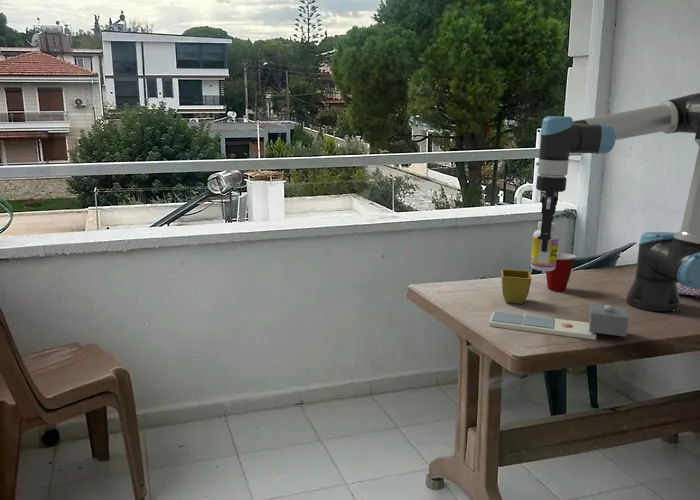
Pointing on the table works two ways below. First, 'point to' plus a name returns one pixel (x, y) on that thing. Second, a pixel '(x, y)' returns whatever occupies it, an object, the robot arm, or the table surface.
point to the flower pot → (515, 285)
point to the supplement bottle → (552, 253)
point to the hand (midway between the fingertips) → (543, 259)
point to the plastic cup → (560, 272)
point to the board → (541, 325)
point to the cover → (608, 320)
